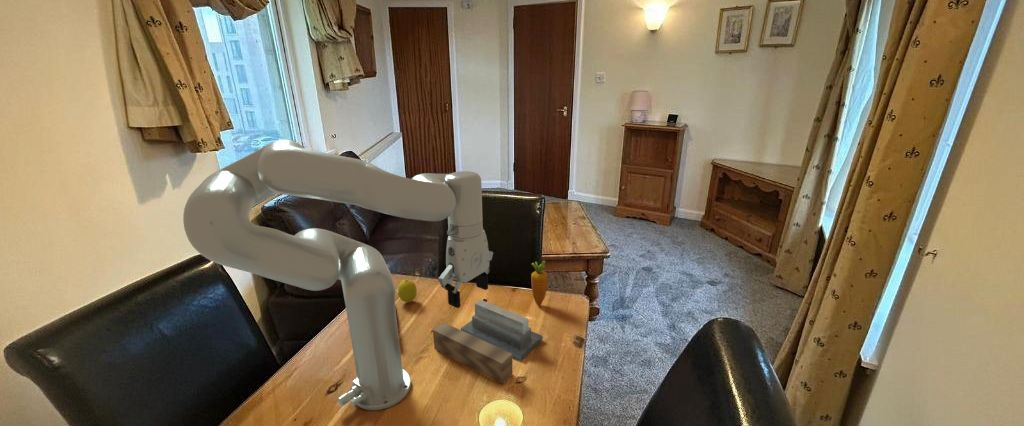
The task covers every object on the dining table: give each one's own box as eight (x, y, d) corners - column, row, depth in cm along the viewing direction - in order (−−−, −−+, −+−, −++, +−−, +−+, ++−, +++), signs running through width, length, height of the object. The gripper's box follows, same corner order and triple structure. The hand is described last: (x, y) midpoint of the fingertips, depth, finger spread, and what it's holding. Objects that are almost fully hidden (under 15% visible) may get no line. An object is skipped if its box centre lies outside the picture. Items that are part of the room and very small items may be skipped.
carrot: (528, 308, 123) (529, 263, 118) (532, 300, 127) (533, 256, 122) (545, 311, 121) (546, 265, 116) (548, 302, 126) (549, 258, 121)
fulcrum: (520, 361, 100) (520, 333, 98) (461, 332, 111) (459, 307, 109) (542, 340, 108) (542, 314, 105) (484, 315, 119) (483, 291, 116)
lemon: (421, 300, 127) (419, 278, 124) (408, 309, 123) (406, 285, 120) (408, 296, 130) (406, 273, 127) (395, 304, 125) (393, 281, 123)
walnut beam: (512, 375, 96) (512, 354, 94) (502, 385, 93) (501, 363, 91) (445, 341, 108) (444, 322, 106) (434, 349, 105) (432, 329, 103)
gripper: (450, 244, 80) (455, 319, 86) (503, 220, 94) (503, 286, 99) (424, 236, 85) (430, 308, 90) (478, 214, 98) (480, 277, 103)
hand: (468, 296), depth 95 cm, fingers open, 9 cm apart
